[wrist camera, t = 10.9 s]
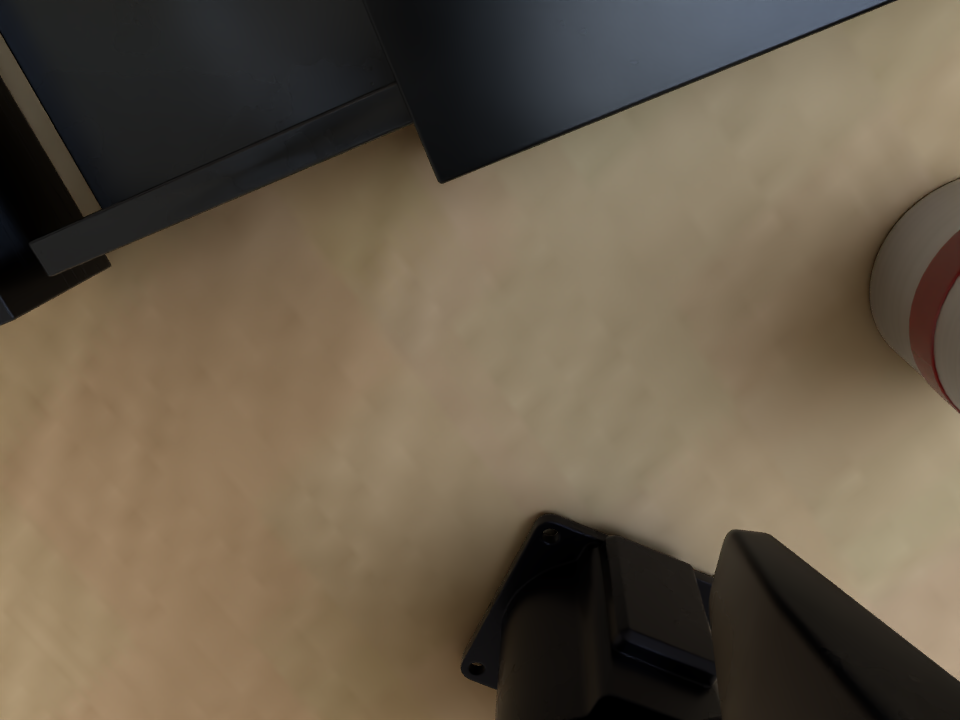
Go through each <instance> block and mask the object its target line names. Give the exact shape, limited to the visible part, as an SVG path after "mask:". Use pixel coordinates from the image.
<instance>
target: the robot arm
mask: <svg viewBox="0 0 960 720" xmlns="http://www.w3.org/2000/svg"><path fill="white" fill-rule="evenodd" d="M547 529H554V530H556V531H557V533H556V534H555V535H552V536H550V535H546V534H545V533H543V532H544V531H545V530H547ZM475 662H476V663H480V664H482V665H480V666H477V665H473V664H472V663H475ZM461 671H462V673H463V675H464V676H465V677H467V678H468V679H470V680H472V681H475V682H478V683H480V684H483V685H486V686H488V687H491V688H494V689H496V690H497V701H496V716H495V720H960V682H959V681H958V680H957V679H956V678H954V677H953V676H952V675H950V674H949V673H948V672H947V671H945V670H944V669H943V668H941V667H940V666H939V665H938V664H936V663H935V662H934V661H932V660H931V659H930V658H929V657H927V656H926V655H925V654H923V653H922V652H921V651H920V650H918V649H917V648H916V647H914V646H913V645H912V644H911V643H909V642H908V641H907V640H905V639H904V638H903V637H902V636H900V635H899V634H898V633H896V632H895V631H894V630H893V629H891V628H890V627H889V626H887V625H886V624H885V623H884V622H882V621H881V620H880V619H878V618H877V617H876V616H875V615H873V614H872V613H871V612H869V611H868V610H867V609H865V608H864V607H863V606H862V605H860V604H859V603H858V602H856V601H855V600H854V599H853V598H851V597H850V596H849V595H847V594H846V593H845V592H844V591H842V590H841V589H840V588H838V587H837V586H836V585H835V584H833V583H832V582H831V581H829V580H828V579H827V578H826V577H824V576H823V575H822V574H820V573H819V572H818V571H817V570H815V569H814V568H813V567H811V566H810V565H809V564H808V563H806V562H805V561H804V560H802V559H801V558H800V557H799V556H797V555H796V554H795V553H793V552H792V551H791V550H790V549H788V548H787V547H786V546H784V545H783V544H782V543H781V542H779V541H778V540H777V539H775V538H774V537H773V536H771V535H770V534H767V533H763V532H754V531H746V530H731V531H730V532H729V533H728V534H727V535H726V537H725V539H724V542H723V545H722V549H721V552H720V556H719V560H718V564H717V568H716V571H715V575H714V578H713V577H711V576H708V575H706V574H703V573H701V572H698V571H696V570H693V568H692V566H691V565H690V564H688V563H685V562H683V561H680V560H678V559H675V558H673V557H670V556H668V555H665V554H663V553H660V552H658V551H655V550H653V549H650V548H648V547H645V546H643V545H640V544H638V543H635V542H633V541H630V540H628V539H625V538H623V537H620V536H617V535H615V536H608V535H606V534H603V533H601V532H598V531H596V530H593V529H591V528H589V527H586V526H584V525H581V524H579V523H576V522H574V521H571V520H569V519H566V518H564V517H561V516H559V515H555V514H544V515H542V516H540V517H539V518H538V519H537V520H536V521H535V522H534V524H533V526H532V528H531V530H530V532H529V533H528V535H527V537H526V539H525V541H524V543H523V544H522V546H521V548H520V550H519V552H518V554H517V556H516V557H515V559H514V561H513V563H512V565H511V567H510V568H509V570H508V572H507V574H506V576H505V578H504V579H503V581H502V583H501V585H500V587H499V589H498V591H497V592H496V594H495V596H494V598H493V600H492V602H491V603H490V605H489V607H488V609H487V611H486V613H485V614H484V616H483V618H482V620H481V622H480V624H479V626H478V627H477V629H476V631H475V633H474V635H473V637H472V638H471V640H470V642H469V644H468V646H467V648H466V650H465V651H464V653H463V656H462V662H461Z"/></svg>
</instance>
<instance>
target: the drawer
mask: <svg viewBox="0 0 960 720" xmlns="http://www.w3.org/2000/svg"><path fill="white" fill-rule="evenodd" d="M0 33H1V35H2V37H3V39H4V40H5V42H6V44H7V46H8V47H9V49H10V51H11V53H12V54H13V56H14V58H15V59H16V61H17V63H18V65H19V66H20V68H21V70H22V72H23V73H24V75H25V77H26V79H27V80H28V82H29V84H30V85H31V87H32V89H33V91H34V92H35V94H36V96H37V98H38V99H39V101H40V103H41V105H42V106H43V108H44V110H45V111H46V113H47V115H48V117H49V118H50V120H51V122H52V124H53V125H54V127H55V129H56V131H57V132H58V134H59V136H60V137H61V139H62V141H63V143H64V144H65V146H66V148H67V150H68V151H69V153H70V155H71V157H72V158H73V160H74V162H75V163H76V165H77V167H78V169H79V170H80V172H81V174H82V176H83V177H84V179H85V181H86V183H87V184H88V186H89V188H90V190H91V191H92V193H93V195H94V196H95V198H96V200H97V202H98V203H99V205H100V207H101V210H99V211H97V212H95V213H92V214H90V215H88V216H86V217H83V216H82V214H81V212H80V210H79V209H78V207H77V205H76V204H75V202H74V200H73V198H72V197H71V195H70V193H69V192H68V190H67V188H66V187H65V185H64V183H63V181H62V180H61V178H60V176H59V175H58V173H57V171H56V170H55V168H54V166H53V164H52V163H51V161H50V159H49V158H48V156H47V154H46V153H45V151H44V149H43V147H42V146H41V144H40V142H39V141H38V139H37V137H36V135H35V134H34V132H33V130H32V129H31V127H30V125H29V124H28V122H27V120H26V118H25V117H24V115H23V113H22V112H21V110H20V108H19V107H18V105H17V103H16V101H15V100H14V98H13V96H12V95H11V93H10V91H9V90H8V88H7V86H6V84H5V83H4V81H3V79H2V78H1V76H0V326H1V325H3V324H6V323H8V322H11V321H13V320H15V319H17V318H19V317H21V316H22V315H24V314H26V313H28V312H30V311H31V310H33V309H35V308H37V307H39V306H41V305H42V304H44V303H46V302H48V301H50V300H51V299H53V298H55V297H57V296H59V295H60V294H62V293H64V292H66V291H68V290H69V289H71V288H73V287H75V286H77V285H78V284H80V283H82V282H84V281H86V280H87V279H89V278H91V277H93V276H95V275H97V274H98V273H100V272H102V271H104V270H106V269H107V268H109V267H110V266H111V263H110V262H109V260H108V258H107V256H106V255H105V254H106V253H109V252H111V251H113V250H116V249H118V248H121V247H123V246H125V245H128V244H130V243H132V242H135V241H137V240H139V239H142V238H144V237H146V236H149V235H151V234H154V233H156V232H158V231H161V230H163V229H165V228H168V227H170V226H172V225H175V224H177V223H179V222H182V221H184V220H187V219H189V218H191V217H194V216H196V215H198V214H201V213H203V212H205V211H208V210H210V209H212V208H215V207H217V206H220V205H222V204H224V203H227V202H229V201H231V200H234V199H236V198H238V197H241V196H243V195H246V194H248V193H250V192H253V191H255V190H257V189H260V188H262V187H264V186H267V185H269V184H271V183H274V182H276V181H279V180H281V179H283V178H286V177H288V176H290V175H293V174H295V173H297V172H300V171H302V170H304V169H307V168H309V167H312V166H314V165H316V164H319V163H321V162H323V161H326V160H328V159H330V158H333V157H335V156H337V155H340V154H342V153H345V152H347V151H349V150H352V149H354V148H356V147H359V146H361V145H363V144H366V143H368V142H370V141H373V140H375V139H378V138H380V137H382V136H385V135H387V134H389V133H392V132H394V131H396V130H399V129H401V128H404V127H406V126H408V125H411V124H413V121H412V119H411V116H410V114H409V112H408V109H407V107H406V104H405V102H404V100H403V97H402V95H401V93H400V90H399V88H398V85H397V83H396V81H395V78H394V76H393V73H392V71H391V69H390V66H389V64H388V62H387V59H386V57H385V54H384V52H383V50H382V47H381V45H380V42H379V40H378V38H377V35H376V33H375V31H374V28H373V26H372V23H371V21H370V19H369V16H368V14H367V11H366V9H365V7H364V4H363V2H362V0H0Z"/></svg>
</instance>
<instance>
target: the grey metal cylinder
mask: <svg viewBox="0 0 960 720" xmlns="http://www.w3.org/2000/svg"><path fill="white" fill-rule="evenodd" d="M870 305H871V311H872V315H873V318H874V321H875V324H876V326H877V328H878V330H879V332H880V334H881V335H882V337H883V338H884V339H885V341H886V342H887V344H888V345H889V346H890V347H891V348H892V349H893V350H894V351H895V352H896V353H897V354H899V355H900V356H901V357H902V358H903V359H904V360H905V361H906V362H907V363H908V364H909V365H911V366H912V367H913V368H914V369H915V370H916V371H917V372H918V373H919V374H920V375H922V376H923V377H924V379H925V380H926V381H927V383H928V384H929V385H930V386H931V387H932V388H933V389H934V390H935V391H936V392H937V393H938V394H939V395H940V396H941V397H942V398H943V399H944V400H945V401H947V402H948V403H949V404H950V405H951V406H952V407H953V408H954V409H955V410H956V411H957V412H959V413H960V179H958V180H955V181H953V182H950V183H948V184H946V185H944V186H942V187H940V188H939V189H937V190H935V191H933V192H932V193H930V194H929V195H927V196H926V197H924V198H923V199H921V200H920V201H919V202H918V203H916V204H915V205H914V206H913V207H912V208H911V209H910V210H908V211H907V212H906V213H905V214H904V216H903V217H902V218H901V219H900V220H899V221H898V222H897V223H896V225H895V226H894V227H893V229H892V230H891V231H890V233H889V234H888V236H887V237H886V239H885V241H884V243H883V244H882V246H881V248H880V250H879V253H878V255H877V257H876V260H875V263H874V267H873V270H872V274H871V281H870Z"/></svg>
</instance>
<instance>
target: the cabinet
mask: <svg viewBox="0 0 960 720" xmlns="http://www.w3.org/2000/svg"><path fill="white" fill-rule="evenodd" d="M895 1H897V0H362V2H363V4H364V7H365V9H366V11H367V14H368V16H369V19H370V21H371V23H372V26H373V28H374V31H375V33H376V35H377V38H378V40H379V42H380V45H381V47H382V50H383V52H384V54H385V57H386V59H387V62H388V64H389V66H390V69H391V71H392V73H393V76H394V78H395V81H396V83H397V85H398V88H399V90H400V93H401V95H402V97H403V100H404V102H405V104H406V107H407V109H408V112H409V114H410V116H411V119H412V121H413V124H414V126H415V128H416V131H417V133H418V135H419V138H420V140H421V143H422V145H423V147H424V150H425V152H426V155H427V157H428V159H429V162H430V164H431V166H432V169H433V171H434V174H435V176H436V178H437V181H438V182H439V183H441V184H443V183H446V182H448V181H451V180H453V179H456V178H458V177H461V176H463V175H466V174H468V173H471V172H473V171H476V170H478V169H480V168H483V167H485V166H488V165H490V164H493V163H495V162H498V161H500V160H503V159H505V158H508V157H510V156H513V155H515V154H518V153H520V152H523V151H525V150H528V149H530V148H533V147H535V146H537V145H540V144H542V143H545V142H547V141H550V140H552V139H555V138H557V137H560V136H562V135H565V134H567V133H570V132H572V131H575V130H577V129H580V128H582V127H585V126H587V125H590V124H592V123H595V122H597V121H599V120H602V119H604V118H607V117H609V116H612V115H614V114H617V113H619V112H622V111H624V110H627V109H629V108H632V107H634V106H637V105H639V104H642V103H644V102H647V101H649V100H652V99H654V98H657V97H659V96H661V95H664V94H666V93H669V92H671V91H674V90H676V89H679V88H681V87H684V86H686V85H689V84H691V83H694V82H696V81H699V80H701V79H704V78H706V77H709V76H711V75H714V74H716V73H718V72H721V71H723V70H726V69H728V68H731V67H733V66H736V65H738V64H741V63H743V62H746V61H748V60H751V59H753V58H756V57H758V56H761V55H763V54H766V53H768V52H771V51H773V50H776V49H778V48H780V47H783V46H785V45H788V44H790V43H793V42H795V41H798V40H800V39H803V38H805V37H808V36H810V35H813V34H815V33H818V32H820V31H823V30H825V29H828V28H830V27H833V26H835V25H838V24H840V23H842V22H845V21H847V20H850V19H852V18H855V17H857V16H860V15H862V14H865V13H867V12H870V11H872V10H875V9H877V8H880V7H882V6H885V5H887V4H890V3H892V2H895Z"/></svg>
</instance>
